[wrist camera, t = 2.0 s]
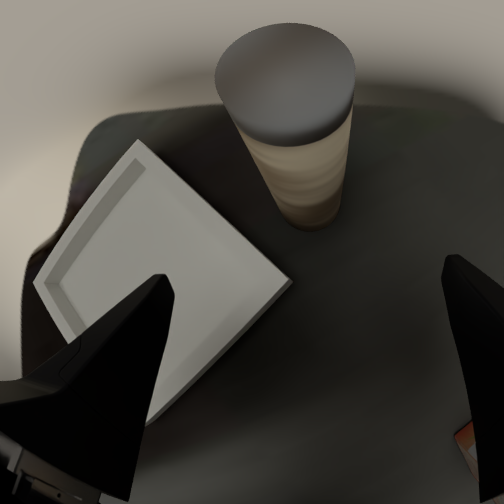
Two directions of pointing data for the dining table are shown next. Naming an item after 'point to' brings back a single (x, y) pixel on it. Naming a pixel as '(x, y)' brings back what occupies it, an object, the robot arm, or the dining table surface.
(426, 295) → the dining table surface
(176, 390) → the tray
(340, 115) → the handle post
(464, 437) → the cracker box
